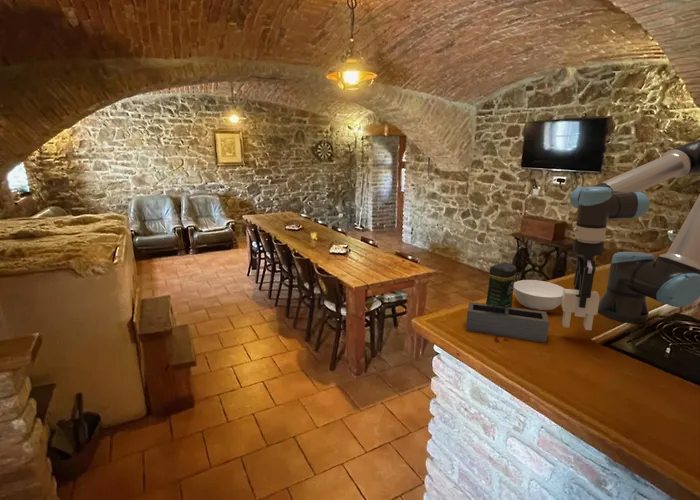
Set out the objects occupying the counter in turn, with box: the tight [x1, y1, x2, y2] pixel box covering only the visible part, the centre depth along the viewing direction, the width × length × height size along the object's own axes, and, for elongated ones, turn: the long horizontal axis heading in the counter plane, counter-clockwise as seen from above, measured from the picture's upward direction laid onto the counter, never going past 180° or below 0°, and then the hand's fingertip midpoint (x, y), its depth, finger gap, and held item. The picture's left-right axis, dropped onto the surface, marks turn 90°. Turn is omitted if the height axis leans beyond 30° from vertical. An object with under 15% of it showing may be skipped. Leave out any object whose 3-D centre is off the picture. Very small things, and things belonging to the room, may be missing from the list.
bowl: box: [513, 279, 565, 311], centre depth 144 cm, size 18×18×7 cm
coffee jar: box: [485, 261, 517, 308], centre depth 137 cm, size 10×8×19 cm
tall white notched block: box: [560, 288, 601, 331], centre depth 117 cm, size 9×4×12 cm, turn 69°
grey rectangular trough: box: [465, 301, 550, 344], centre depth 125 cm, size 24×8×7 cm, turn 69°
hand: (578, 312), depth 118 cm, fingers closed on tall white notched block, 4 cm apart
